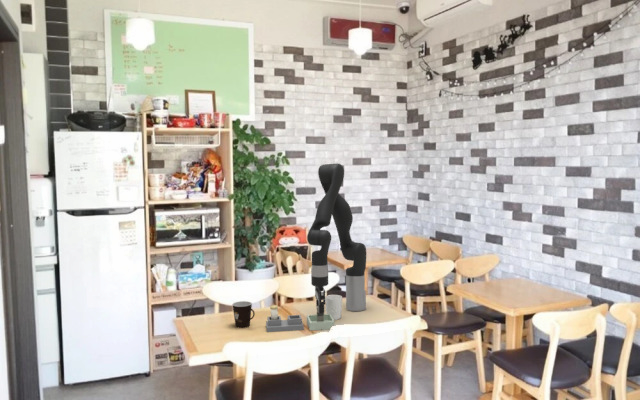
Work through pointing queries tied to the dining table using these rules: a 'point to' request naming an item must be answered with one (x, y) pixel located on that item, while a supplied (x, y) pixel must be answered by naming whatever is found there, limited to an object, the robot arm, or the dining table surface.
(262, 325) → the dining table surface
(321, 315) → the fuse
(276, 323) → the fuse block
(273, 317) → the fuse
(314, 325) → the parts tray
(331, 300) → the white cup
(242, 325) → the coffee mug
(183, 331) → the dining table surface
